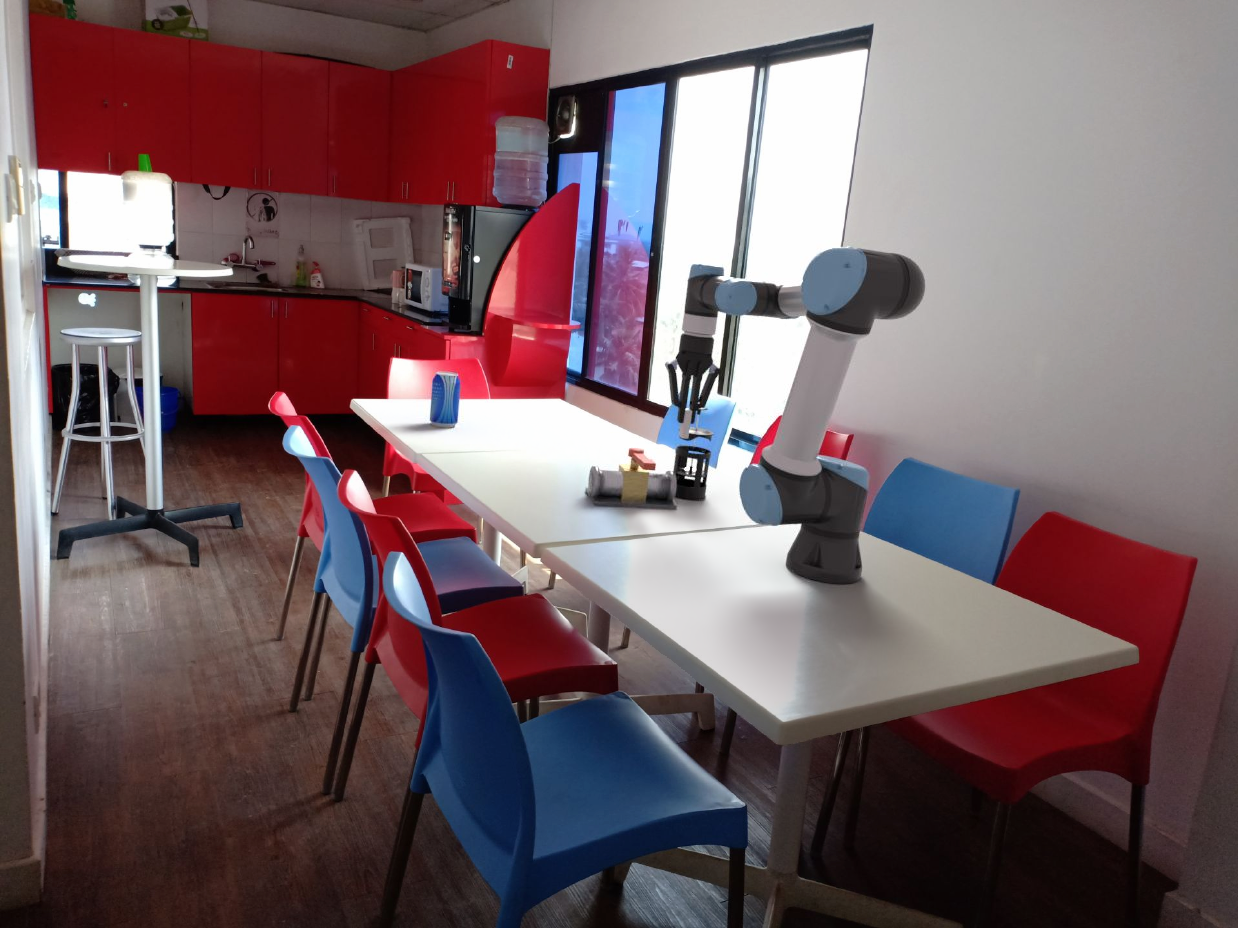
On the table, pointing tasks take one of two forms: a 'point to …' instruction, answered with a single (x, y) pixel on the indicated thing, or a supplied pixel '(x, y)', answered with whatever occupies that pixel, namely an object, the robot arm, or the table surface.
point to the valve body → (632, 487)
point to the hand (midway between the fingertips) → (683, 437)
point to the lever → (641, 459)
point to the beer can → (445, 399)
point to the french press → (690, 487)
